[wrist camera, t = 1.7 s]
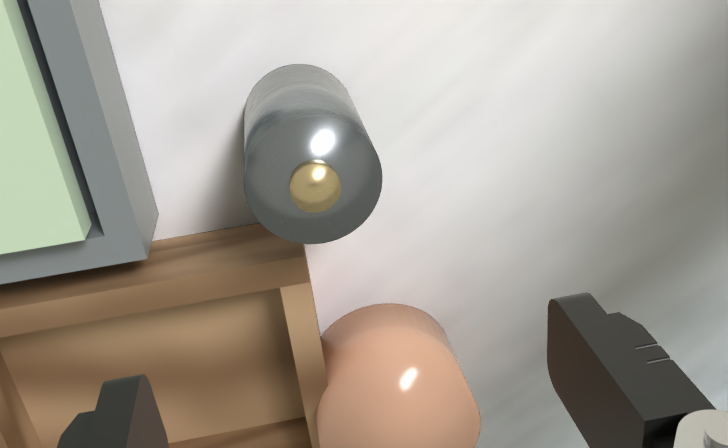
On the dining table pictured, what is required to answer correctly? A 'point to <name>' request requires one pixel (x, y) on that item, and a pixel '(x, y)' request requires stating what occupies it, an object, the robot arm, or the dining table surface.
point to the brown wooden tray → (171, 343)
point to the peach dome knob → (394, 383)
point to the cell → (307, 157)
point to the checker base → (88, 142)
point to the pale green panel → (32, 151)
